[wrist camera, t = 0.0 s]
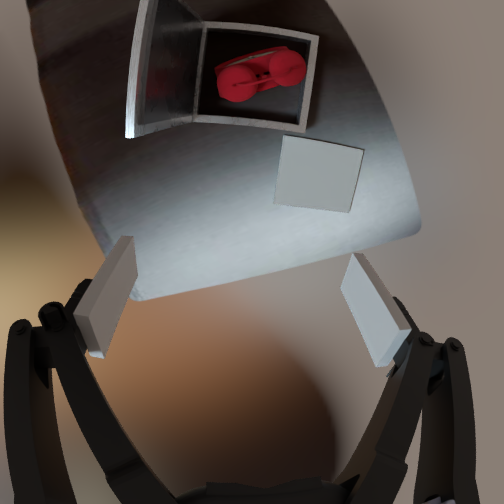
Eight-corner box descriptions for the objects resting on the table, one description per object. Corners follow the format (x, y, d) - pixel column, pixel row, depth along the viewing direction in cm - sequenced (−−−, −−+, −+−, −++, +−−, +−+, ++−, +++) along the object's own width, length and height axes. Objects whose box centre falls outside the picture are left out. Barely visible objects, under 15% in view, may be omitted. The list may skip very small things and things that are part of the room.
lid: (206, 20, 26) (197, 20, 26) (158, -25, 12) (145, -23, 12) (194, 122, 33) (185, 121, 33) (137, 137, 20) (125, 138, 20)
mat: (283, 135, 38) (284, 135, 38) (362, 150, 39) (363, 150, 39) (273, 203, 44) (273, 204, 43) (347, 212, 45) (348, 213, 45)
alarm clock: (280, 46, 31) (304, 20, 18) (294, 84, 34) (327, 77, 21) (210, 69, 32) (196, 51, 19) (225, 106, 35) (220, 109, 23)
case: (202, 25, 28) (200, 20, 26) (314, 39, 30) (320, 35, 28) (191, 120, 36) (188, 121, 33) (301, 131, 38) (305, 133, 35)
